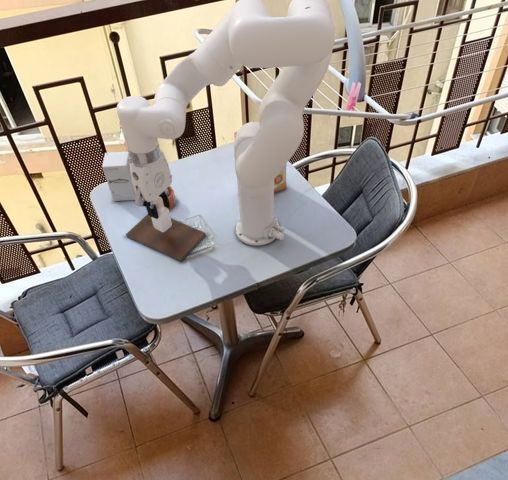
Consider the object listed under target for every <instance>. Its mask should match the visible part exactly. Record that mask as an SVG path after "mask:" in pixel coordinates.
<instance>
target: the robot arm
mask: <svg viewBox="0 0 508 480" xmlns="http://www.w3.org/2000/svg"><path fill="white" fill-rule="evenodd" d="M328 3H329V2H328V1H327V0H291V1H290V3H289V5H288V8H287V13H286V16H271V14H270V12H269V9H268V7H267V6H266V5H265V3H264V2H263V1H262V0H237V1H236V2H235V3H234V4H233V5H232V6H231V7H230V9H229V10H228V11H227V12H226V14H225V15H224V16H223V17H222V18H221V20H220V21H219V22H218V23H217V24H216V26H215V27H214V28H213V29H212V30H211V32H209V34H208V36H207V37H205V38H204V40H203V41H202V43H200V44H199V46H198V47H197V48H196V49H195V50H194V51H193V52H192V53H190V54H188V55H187V56H186V57H185V58H183V59H182V60H181V61H179V62H178V63H177V64H176V65H175V66H174V67H173V68H172V69H171V71H170V72H169V73H168V74H167V76H166V77H165V78H164V80H163V81H162V82H161V84H160V85H159V86H158V88H157V89H156V91H155V95H154V98H153V103H152V105H151V104H150V102H149V101H148V100H147V99H146V98H145V97H143V96H140V95H130V96H126V97H123V98H122V99H121V100H120V101H118V103H117V105H116V113H117V118H118V121H119V125H120V127H121V128H120V129H121V131H122V135H123V138H124V142H125V146H126V149H127V151H128V153H129V156H130V157H129V159H128V162H129V163H130V172H131V178H132V183H133V187H134V190H135V193H136V198H135V200H134V206H137V207H145V209H146V211H147V214H148V215H149V216H150V217H153V218H155V219H158V218H159V216H158V212H157V208H156V206H154V199H156V198H157V197H158V196H159V197H161V198H162V200H163V204H164V206H165V207H166V208H170V204H169V200H168V196H167V195H168V193H169V191H168V188H169V186H171V185H172V182H173V175H172V173H171V169H170V166H169V162H168V160H167V157H166V155H165V153H164V151H163V150H162V148H160V144H159V140H158V139H163V140H176V139H178V138H181V136H182V135H183V133H184V132H185V128H186V122H187V121H186V119H187V107H188V105H190V103H191V102H192V101H193V99H195V97H196V96H197V95H198V94H199V93H200V92H201V91H202V90H203V89H204V88H206V87H208V86H210V85H213V86H216V87H224V86H225V85H226V84H227V83H228V82H229V81H230V80H231V79H232V78H233V77H234V76H235V75H236V73H238V71H239V70H240V69H241V68H242V67H243V66H244V67H247V68H254V69H272V68H273V69H274V68H282V69H281V70H280V72H279V73H278V74H277V76H276V78H275V79H274V81H273V82H272V84H271V85H270V87H269V88H268V90H267V92H266V93H265V95H264V96H263V97H262V99H261V101H260V104H259V108H258V116H259V117H258V119H259V122H258V121H249V122H247V123H245V124H243V125H241V127H240V128H239V129H238V130H237V131H238V132H237V131H236V132H237V134H236V137H235V138H234V142H233V143H234V144H233V151H234V152H233V154H234V171H235V175H236V182H237V183H236V185H237V197H238V208H239V209H238V210H239V221H237V223H236V225H235V235H236V237H237V238H238V240H239V241H241V242H242V243H244V244H245V245H249V246H264V245H267V244H270V243H272V242H273V241H275V240H276V239H277V240H280V241H283V240H284V239H285V236H286V234H285V231H286V227H283V226H280V224H279V222H278V218H276V217H275V211H274V210H275V203H274V202H275V199H274V198H275V193H274V179H275V177H276V176H277V175H278V174H279V172H280V171H281V170H282V168H283V167H284V166H285V165H286V166H287V163H288V162H289V161H290V159H291V158H292V157H293V155H295V153H296V151H297V150H298V148H299V147H300V145H301V143H302V141H303V138H304V133H305V123H304V117H303V113H304V110H305V109H306V106H307V105H308V104H309V102H310V101H311V99H312V97H313V96H314V94H315V93H316V91H317V90H318V88H319V87H320V85H321V84H322V82H323V79H324V78H325V76H326V74H327V72H328V69H329V67H330V63H331V60H332V55H333V48H334V45H335V41H336V28H335V25H334V21H333V17H332V12H331V9H330V6H329V4H328ZM148 201H149V202H148Z"/></svg>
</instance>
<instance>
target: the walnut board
mask: <svg viewBox="0 0 508 480" xmlns="http://www.w3.org/2000/svg"><path fill="white" fill-rule="evenodd" d="M171 223H172V226H171V227H170V228H169V229H168V230H166V231H165V232H161V231H159V230H157V229H155V228H154V226H153V222H152V218H151V217H150V216H149V215H148V213H147V214H146V215H145V216H144V217H143V218H142V219H140V220H139V221H138V222H137V223H136V224H135V225H134V226H133V227H132V228H131V229H130V230H129V231H128V232H127V233H126V234H125V236H126V238H129V239H131V240H132V241H135V242H137V243H139V244H141V245H144V246H146V247H148V248H151V249H153V250H155V251H157V252H159V253H162V254H164V255H166V256H167V257H170V258H172V259H175V260H176V261H179V262H182V261H183V260H185V258H186V257H187V256H188V255H189V254H190V253H191V252H192V251H193V250H194V249H195V248H196V247H197V246H198V245H199V244H200V242H201V241H202V240H203V239H204V238H205V237H206V236H207V233H206V232H204V231H202V230H200V229H197V228H195V227H192V226H190V225H187V224H186V223H183V222H180V221H178V220H176V219H173V218H171Z"/></svg>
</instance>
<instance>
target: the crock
mask: <svg viewBox="0 0 508 480" xmlns="http://www.w3.org/2000/svg"><path fill="white" fill-rule="evenodd" d="M168 191H169V193H168V195H167V196H168V200H169V204H170V208H168V210H169V211H171V210H173V208H174V207H175V206H176V203H177V202H176V201H177V200H176V196H175V190H174V188H173V187H172V186H171V185H170V186H169V188H168ZM147 202H149V201H147Z"/></svg>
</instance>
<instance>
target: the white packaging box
mask: <svg viewBox="0 0 508 480" xmlns="http://www.w3.org/2000/svg"><path fill="white" fill-rule="evenodd" d="M129 157H130V156H129V153H128V150H127V151H112V152H111V151H110V152H104V156H103V161H102V166H101V167H102V171H103V173H104V176H105V179H106V182H107V185H108V188H109V191H110V194H111V197H112V200H113V202H118V201H119V202H120V201H135V198H136V193H135V190H134V187H133V183H132V178H131V172H130V163H129V162H128V159H129Z"/></svg>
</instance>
